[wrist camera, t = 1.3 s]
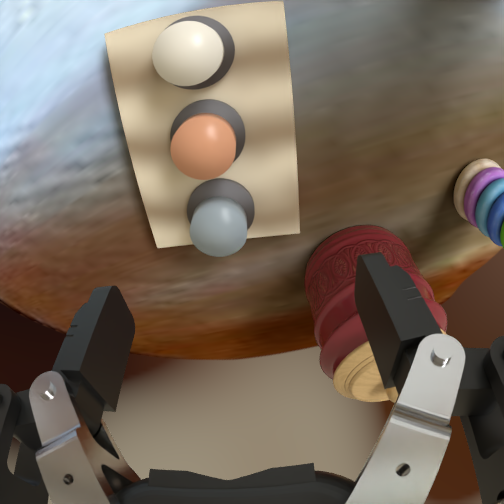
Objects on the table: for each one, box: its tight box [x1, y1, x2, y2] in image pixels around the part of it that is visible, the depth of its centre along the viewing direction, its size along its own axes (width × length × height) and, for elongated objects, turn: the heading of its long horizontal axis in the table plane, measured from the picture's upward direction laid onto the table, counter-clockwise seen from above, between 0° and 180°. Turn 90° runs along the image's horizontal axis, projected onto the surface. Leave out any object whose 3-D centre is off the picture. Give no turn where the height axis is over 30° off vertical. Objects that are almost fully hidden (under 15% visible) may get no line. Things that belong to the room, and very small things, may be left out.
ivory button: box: [152, 21, 224, 86], centre depth 18 cm, size 5×5×2 cm
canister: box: [304, 225, 447, 402], centre depth 30 cm, size 13×13×18 cm
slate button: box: [190, 196, 247, 257], centre depth 27 cm, size 5×5×2 cm
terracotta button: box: [170, 113, 236, 180], centre depth 23 cm, size 5×5×2 cm
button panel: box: [105, 1, 300, 248], centre depth 26 cm, size 21×14×3 cm, turn 6°
